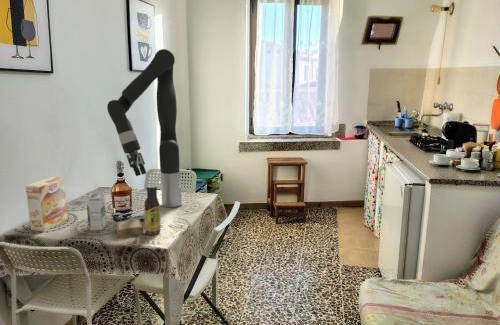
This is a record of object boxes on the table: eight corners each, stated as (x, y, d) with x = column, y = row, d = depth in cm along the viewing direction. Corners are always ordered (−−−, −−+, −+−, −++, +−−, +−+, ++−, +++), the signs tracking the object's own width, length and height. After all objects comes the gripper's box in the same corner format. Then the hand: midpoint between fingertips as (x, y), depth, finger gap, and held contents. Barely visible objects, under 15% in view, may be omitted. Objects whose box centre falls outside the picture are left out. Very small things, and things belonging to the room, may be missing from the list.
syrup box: (92, 225, 162) (89, 193, 159) (107, 225, 162) (104, 193, 159) (88, 230, 156) (85, 197, 153) (103, 230, 157) (100, 197, 154)
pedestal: (140, 225, 162) (139, 218, 162) (143, 234, 153) (142, 226, 153) (115, 228, 159) (115, 221, 158) (117, 237, 150) (117, 230, 149)
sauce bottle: (152, 237, 151) (150, 189, 146) (142, 233, 154) (139, 187, 149) (164, 231, 156) (162, 185, 152) (153, 228, 159) (151, 183, 155)
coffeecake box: (44, 232, 155) (39, 186, 151) (30, 230, 156) (24, 185, 152) (68, 219, 169) (64, 177, 165) (55, 217, 171) (50, 176, 166)
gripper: (131, 139, 166) (144, 173, 167) (141, 139, 180) (153, 171, 181) (116, 144, 166) (128, 178, 167) (127, 144, 181) (138, 176, 181)
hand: (141, 174), depth 174 cm, fingers open, 8 cm apart
